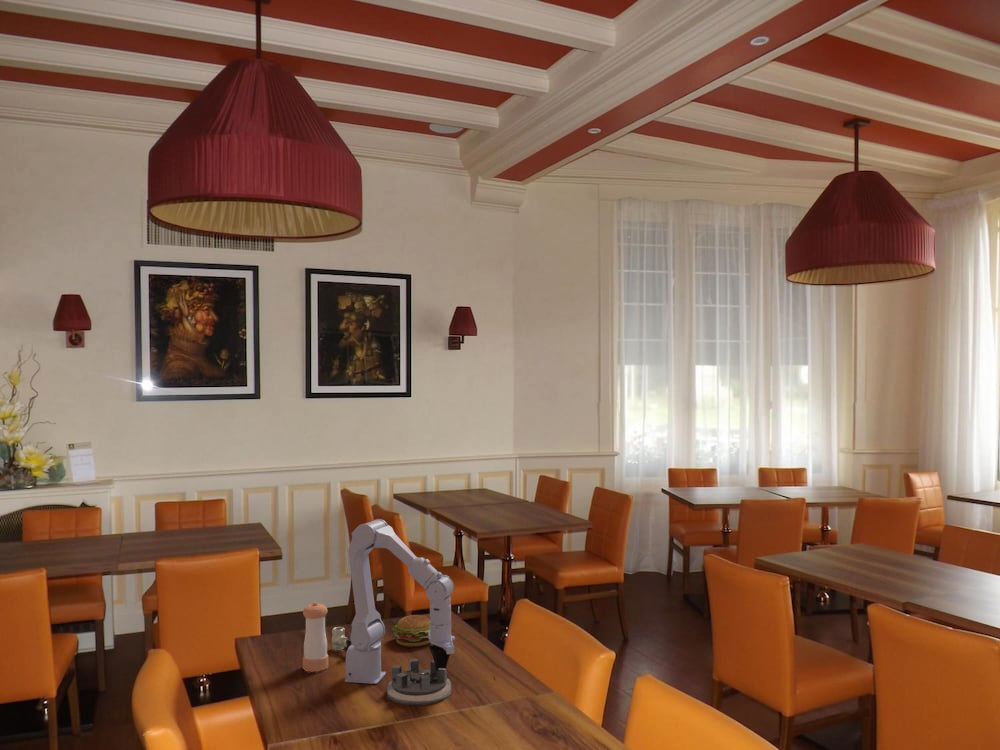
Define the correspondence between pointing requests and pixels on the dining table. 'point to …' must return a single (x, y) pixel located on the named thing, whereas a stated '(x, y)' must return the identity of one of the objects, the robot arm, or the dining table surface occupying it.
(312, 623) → the salt shaker
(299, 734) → the dining table surface
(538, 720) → the dining table surface
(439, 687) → the finned metal hub
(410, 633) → the food
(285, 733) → the dining table surface
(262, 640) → the dining table surface
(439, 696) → the cap base
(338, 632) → the valve
